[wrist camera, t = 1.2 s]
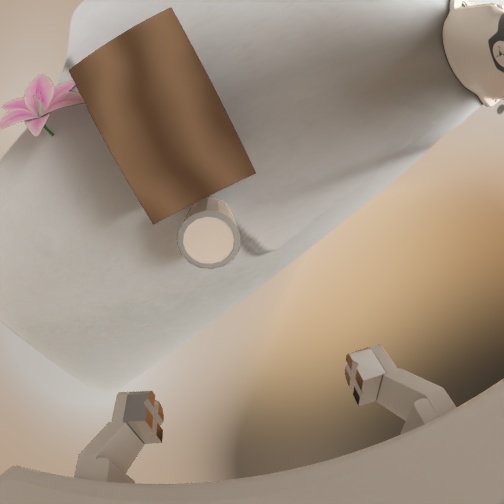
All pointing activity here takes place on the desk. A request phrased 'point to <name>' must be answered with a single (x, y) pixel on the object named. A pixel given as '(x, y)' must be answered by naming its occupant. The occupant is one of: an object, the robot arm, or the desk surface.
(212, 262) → the cream tapered cup
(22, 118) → the lily
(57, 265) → the desk surface
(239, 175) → the walnut shelf
